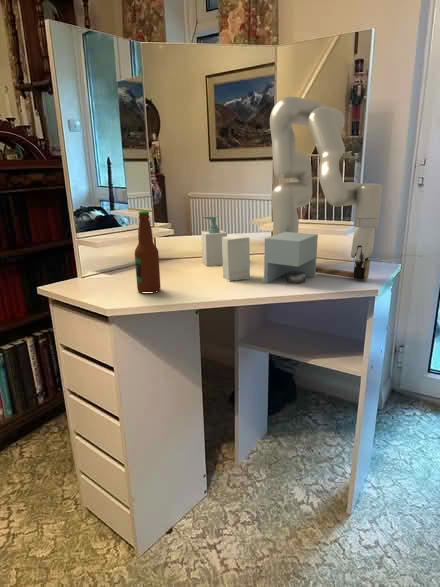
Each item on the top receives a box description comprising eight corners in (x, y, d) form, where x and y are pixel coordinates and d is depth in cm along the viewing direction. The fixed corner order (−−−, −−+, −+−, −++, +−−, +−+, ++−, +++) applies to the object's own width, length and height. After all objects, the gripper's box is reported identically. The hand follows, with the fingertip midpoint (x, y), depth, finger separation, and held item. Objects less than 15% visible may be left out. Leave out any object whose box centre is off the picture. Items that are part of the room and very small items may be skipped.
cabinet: (264, 282, 136) (264, 238, 132) (284, 272, 149) (285, 231, 145) (297, 287, 130) (299, 241, 126) (315, 276, 143) (317, 234, 138)
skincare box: (243, 275, 146) (243, 234, 142) (250, 279, 141) (250, 236, 137) (221, 277, 144) (221, 235, 139) (228, 282, 138) (227, 238, 134)
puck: (284, 282, 137) (284, 274, 136) (291, 278, 142) (291, 270, 141) (300, 285, 134) (301, 276, 133) (307, 281, 138) (308, 272, 137)
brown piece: (310, 272, 145) (311, 256, 143) (314, 270, 148) (315, 254, 146) (365, 280, 135) (366, 262, 133) (368, 277, 138) (370, 260, 136)
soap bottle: (201, 261, 169) (200, 215, 163) (222, 260, 171) (221, 214, 165) (206, 266, 161) (204, 217, 155) (227, 264, 163) (227, 216, 157)
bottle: (147, 286, 134) (142, 209, 127) (165, 289, 130) (160, 210, 123) (132, 292, 128) (126, 212, 121) (150, 295, 124) (145, 213, 117)
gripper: (361, 219, 140) (356, 270, 146) (346, 225, 127) (341, 281, 132) (384, 220, 136) (378, 273, 142) (371, 226, 123) (365, 284, 129)
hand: (360, 276), depth 137 cm, fingers closed on brown piece, 4 cm apart
